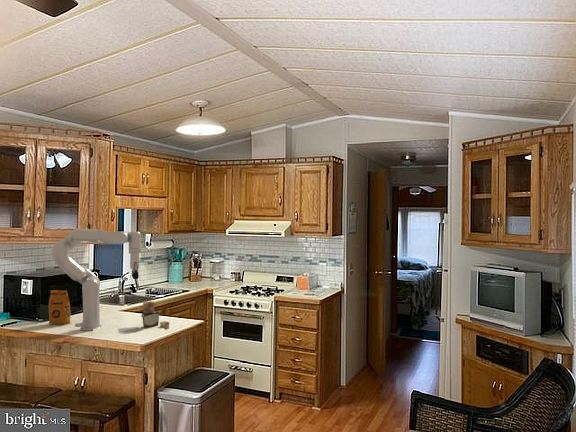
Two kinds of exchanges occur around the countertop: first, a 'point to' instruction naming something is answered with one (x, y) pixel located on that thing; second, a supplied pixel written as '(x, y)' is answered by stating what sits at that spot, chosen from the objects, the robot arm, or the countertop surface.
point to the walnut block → (148, 307)
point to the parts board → (128, 329)
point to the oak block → (164, 324)
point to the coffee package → (59, 307)
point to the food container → (150, 319)
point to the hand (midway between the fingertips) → (135, 277)
